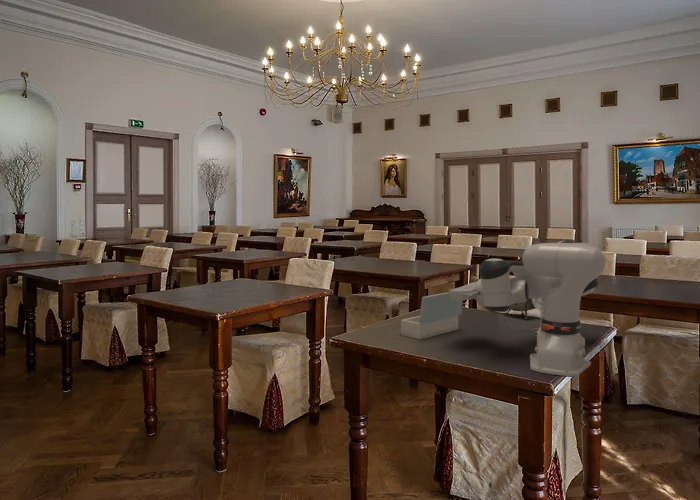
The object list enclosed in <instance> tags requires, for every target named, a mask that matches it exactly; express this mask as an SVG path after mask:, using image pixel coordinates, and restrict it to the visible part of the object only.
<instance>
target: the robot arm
mask: <svg viewBox="0 0 700 500" xmlns="http://www.w3.org/2000/svg"><path fill="white" fill-rule="evenodd" d="M605 268H606V257H605V254H604V253H603V251H602V250H601V249H600V248H599V247H598V246H596V245H595V244H592V243H589V242H575V241H574V240H571V239H565V240H561V241H558V242H544V243H543V242H542V243H535V244H530V245H528V246H527V247H526V248H525V249H524V252H523V253H522V257H521V261H519V260H504V259H502V258H495V257H494V258H488V259H485V260H483V261H482V263H481V264H480V266H479V267H478V271H479V277H480V278H479V279H477V280H476V281H475V282H474V281H473V282H470V283H467V284H465V285H463V286H459V287H456V288H455V287H454V288H453V287H451V288H449V289H448V293H449V294H450V295H451V300H463V301H468V300H473V299H474V300H477V302H478V303H479V304H483V307H484V308H485V309H487V311H489V312H491V313H506V312H508V310H509V308H510V307H511V306H512V305H513V304H514V303H521V302H526V301H527V300H528V298H531V299H538V298H542V297H544V298H543V317H542V319H541V318H540V325H541V331H540V332H539V333H536V346H535V347H534V349H533V350H534V351H535V352H536V353H530V354H529V366H530V370H531V371H534V372H537V373H543V374H548V375H554V376H555V375H557V376H564V377H565V376H566V377H578V376H579V375H580V374H582V373H583V372H584V371H586V370H587V369H588V368H589V367H591V365H592V363H591V361H590V360H588V359H586V339H585V337H583V335H581V333H580V332H581V328H582V327H581V326H582V324H581V320H580V307H581V300H582V296H587V295H589V294H591V293H593V292H594V291H595V289H596V288H597V287H598V285H599V281H598V277H600V276H601V275H602V273H603V272H604V270H605ZM510 273H513V277H514V278H515V279H510Z"/></svg>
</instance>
